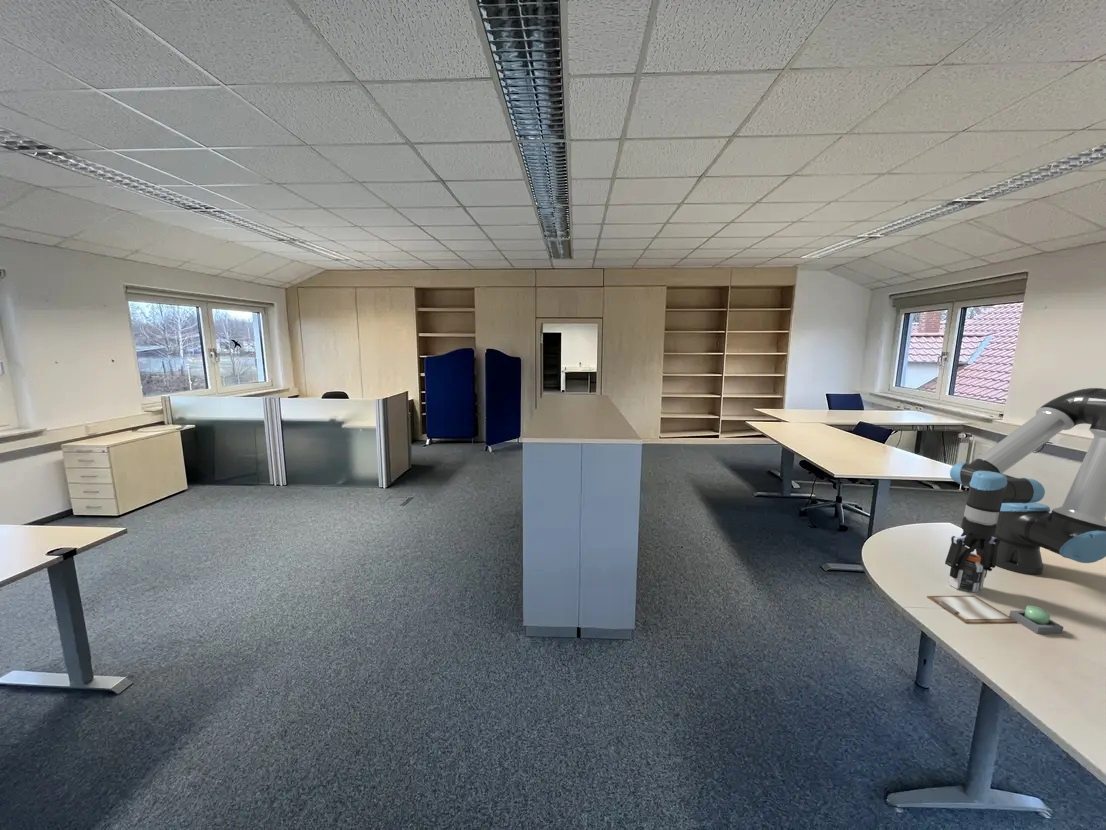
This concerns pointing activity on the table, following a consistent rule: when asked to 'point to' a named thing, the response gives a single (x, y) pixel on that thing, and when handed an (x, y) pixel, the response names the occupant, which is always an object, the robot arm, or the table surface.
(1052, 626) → the button frame
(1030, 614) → the button
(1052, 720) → the table surface
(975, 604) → the clipboard
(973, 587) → the pill bottle
